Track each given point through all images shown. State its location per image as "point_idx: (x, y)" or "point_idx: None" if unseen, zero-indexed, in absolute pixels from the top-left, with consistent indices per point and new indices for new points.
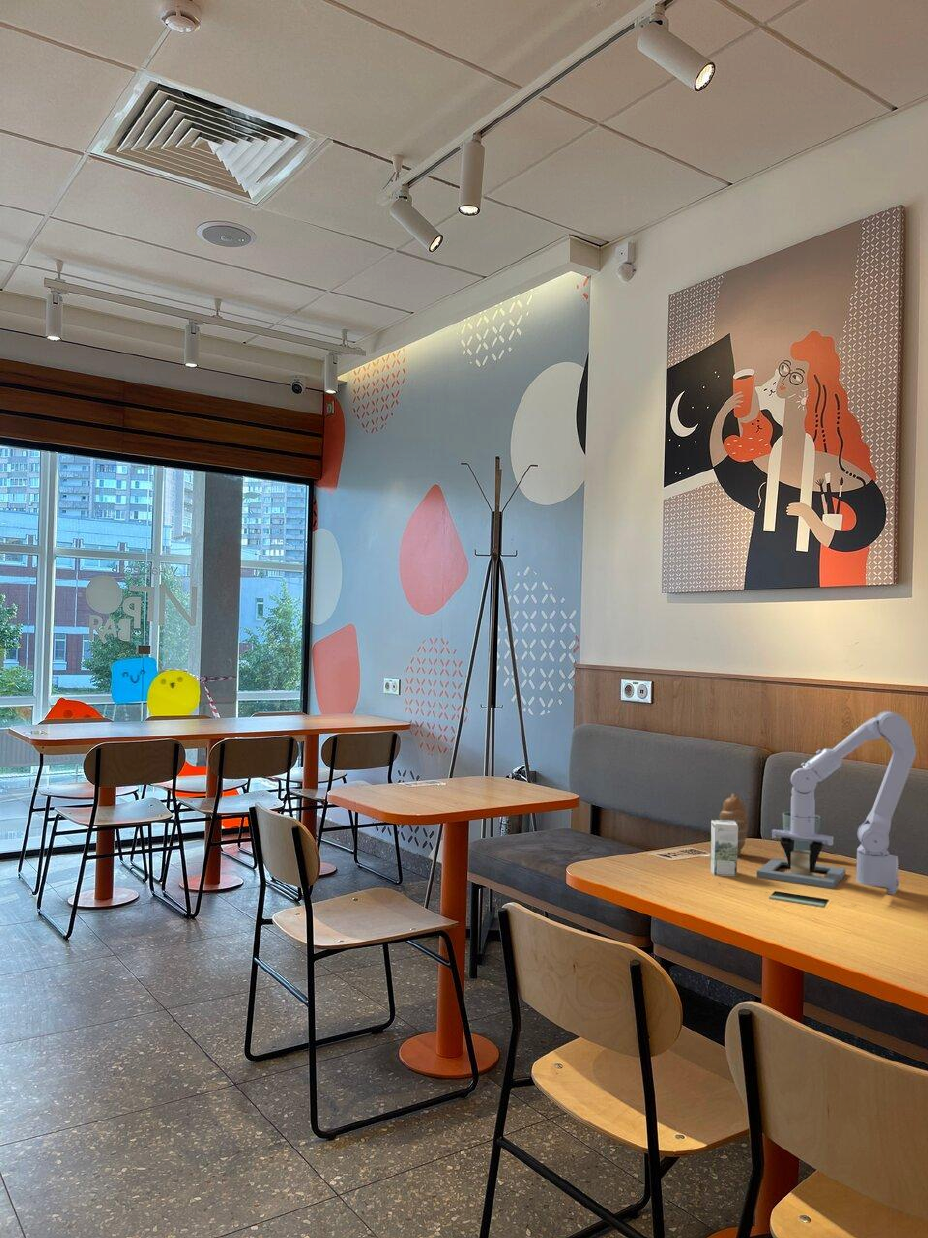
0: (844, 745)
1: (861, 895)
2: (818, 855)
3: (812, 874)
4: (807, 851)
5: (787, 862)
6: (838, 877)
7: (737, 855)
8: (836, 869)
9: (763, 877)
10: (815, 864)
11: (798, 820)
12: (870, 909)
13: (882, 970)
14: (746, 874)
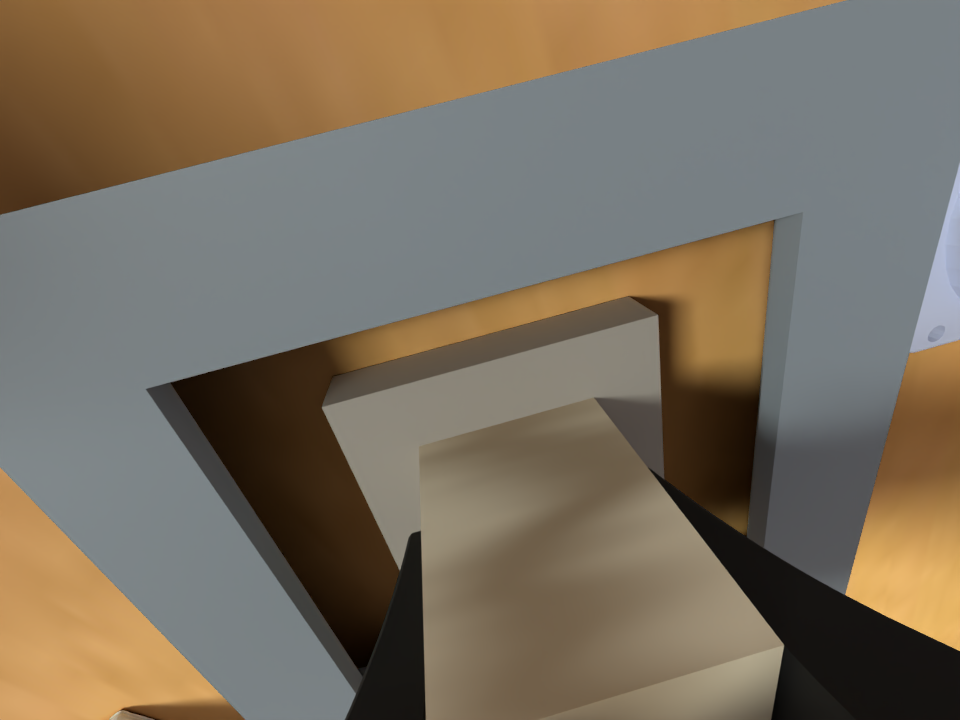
0: None
1: (923, 440)
2: (840, 599)
3: (598, 407)
4: (696, 715)
5: (214, 363)
6: (867, 471)
7: None
8: (874, 188)
9: None
10: (701, 508)
11: None
12: (929, 611)
13: None
14: (92, 597)
